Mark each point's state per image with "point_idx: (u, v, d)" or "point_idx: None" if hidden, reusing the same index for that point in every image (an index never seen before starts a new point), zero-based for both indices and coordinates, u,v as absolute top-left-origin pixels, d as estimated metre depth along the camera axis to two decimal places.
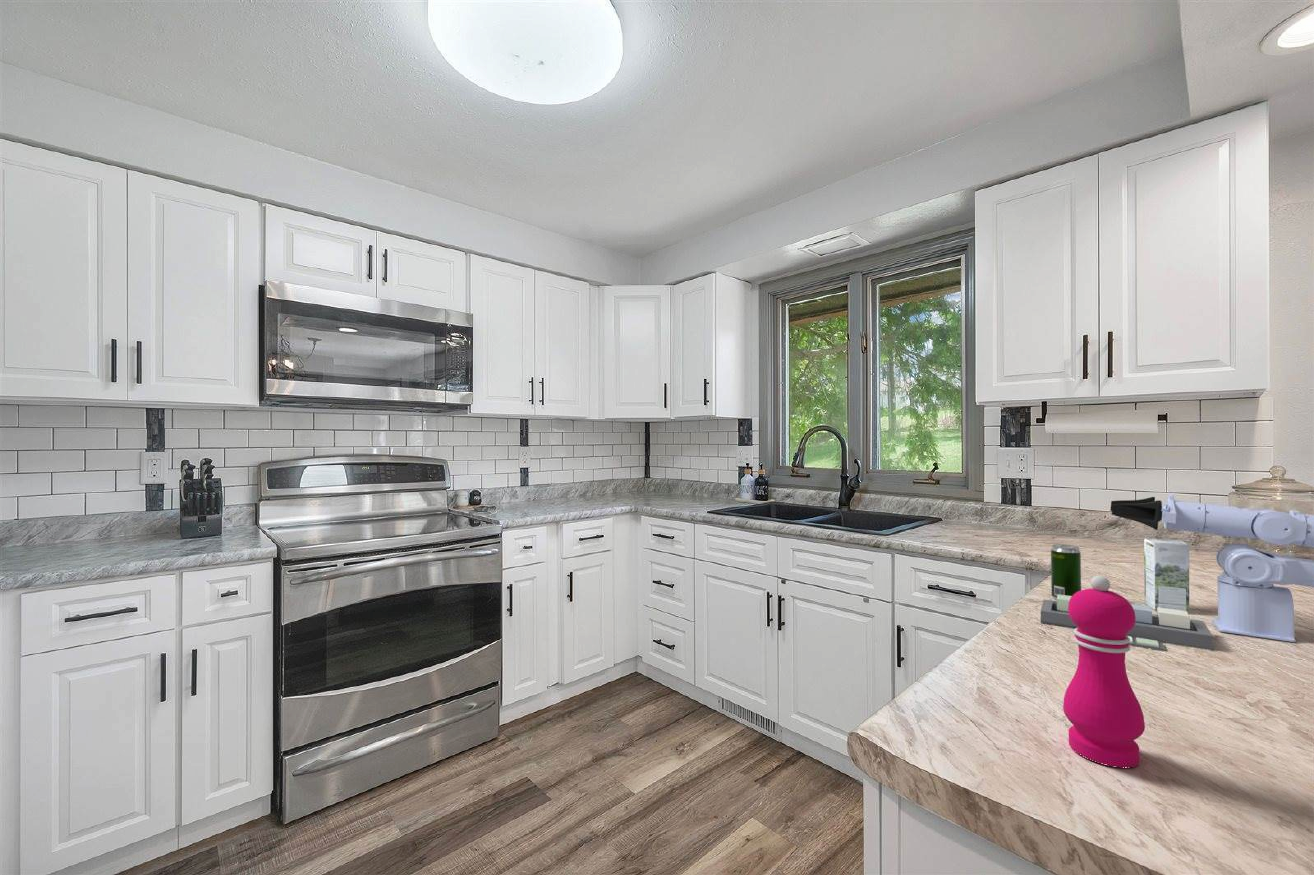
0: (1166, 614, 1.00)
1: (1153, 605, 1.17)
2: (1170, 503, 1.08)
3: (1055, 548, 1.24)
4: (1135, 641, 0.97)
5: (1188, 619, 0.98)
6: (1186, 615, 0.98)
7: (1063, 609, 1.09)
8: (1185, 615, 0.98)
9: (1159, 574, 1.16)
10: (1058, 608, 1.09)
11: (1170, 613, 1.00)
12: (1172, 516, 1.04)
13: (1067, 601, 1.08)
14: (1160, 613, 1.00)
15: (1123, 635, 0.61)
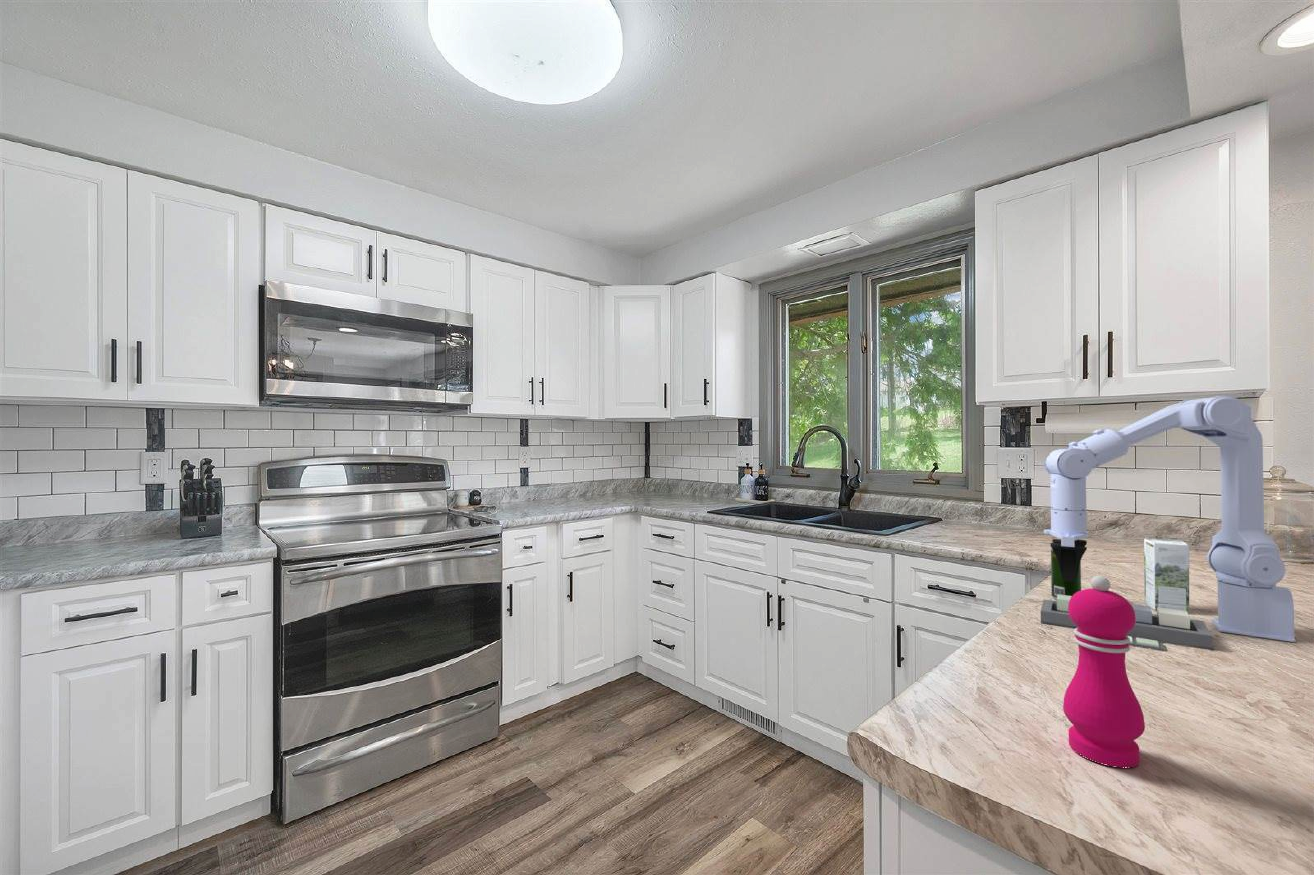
0: (1166, 614, 1.00)
1: (1153, 605, 1.17)
2: (1053, 534, 1.09)
3: None
4: (1135, 641, 0.97)
5: (1188, 619, 0.98)
6: (1186, 615, 0.98)
7: (1063, 609, 1.09)
8: (1185, 615, 0.98)
9: (1159, 574, 1.16)
10: (1058, 608, 1.09)
11: (1170, 613, 1.00)
12: (1065, 539, 1.04)
13: (1067, 601, 1.08)
14: (1160, 613, 1.00)
15: (1123, 635, 0.61)
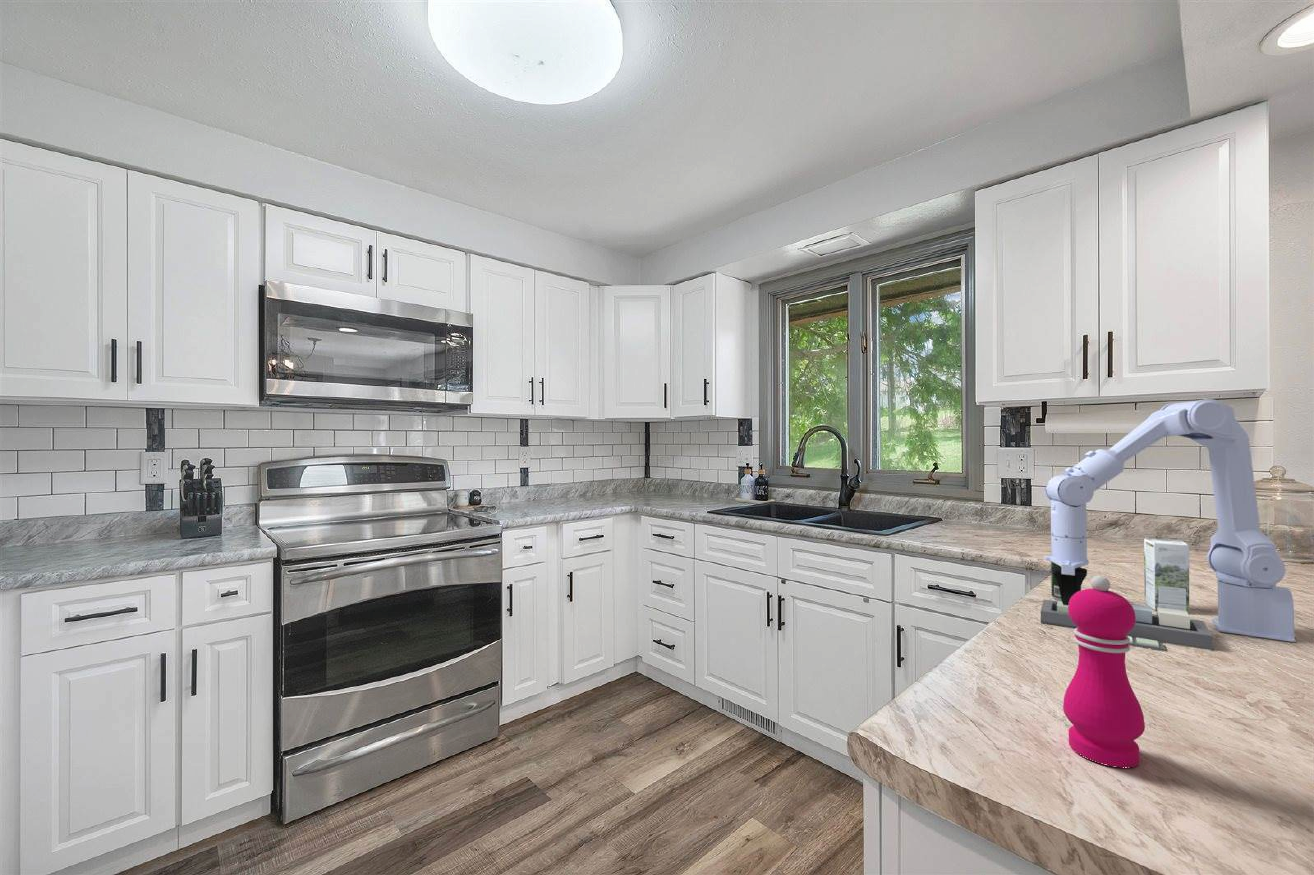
0: (1166, 614, 1.00)
1: (1153, 605, 1.17)
2: (1053, 561, 1.09)
3: None
4: (1135, 641, 0.97)
5: (1188, 619, 0.98)
6: (1186, 615, 0.98)
7: None
8: (1185, 615, 0.98)
9: (1159, 574, 1.16)
10: None
11: (1170, 613, 1.00)
12: (1066, 567, 1.04)
13: (1067, 608, 1.08)
14: (1160, 613, 1.00)
15: (1123, 635, 0.61)
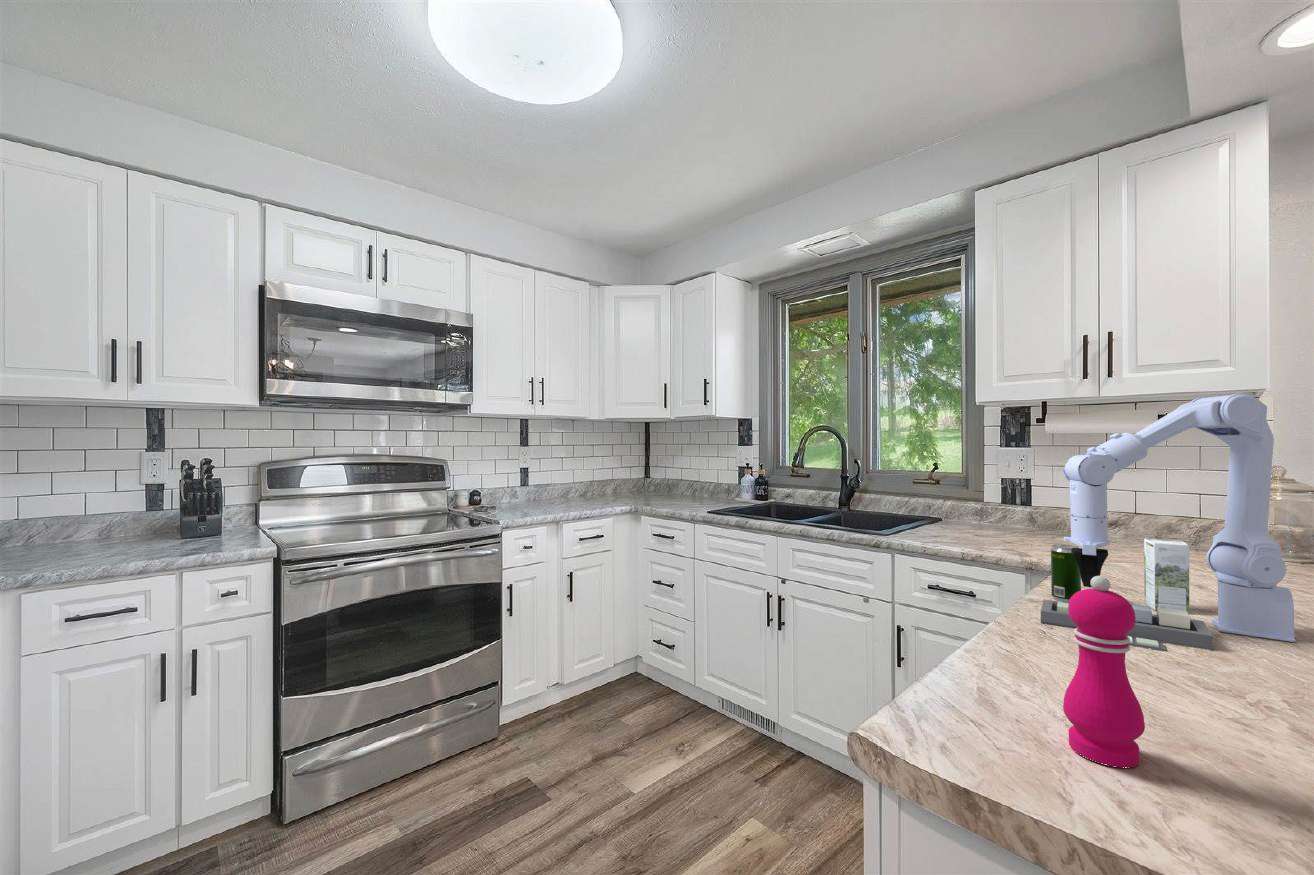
0: (1166, 614, 1.00)
1: (1153, 605, 1.17)
2: (1073, 542, 1.07)
3: (1055, 548, 1.24)
4: (1135, 641, 0.97)
5: (1188, 619, 0.98)
6: (1186, 615, 0.98)
7: None
8: (1185, 615, 0.98)
9: (1159, 574, 1.16)
10: None
11: (1170, 613, 1.00)
12: (1087, 547, 1.02)
13: (1067, 609, 1.08)
14: (1160, 613, 1.00)
15: (1123, 635, 0.61)
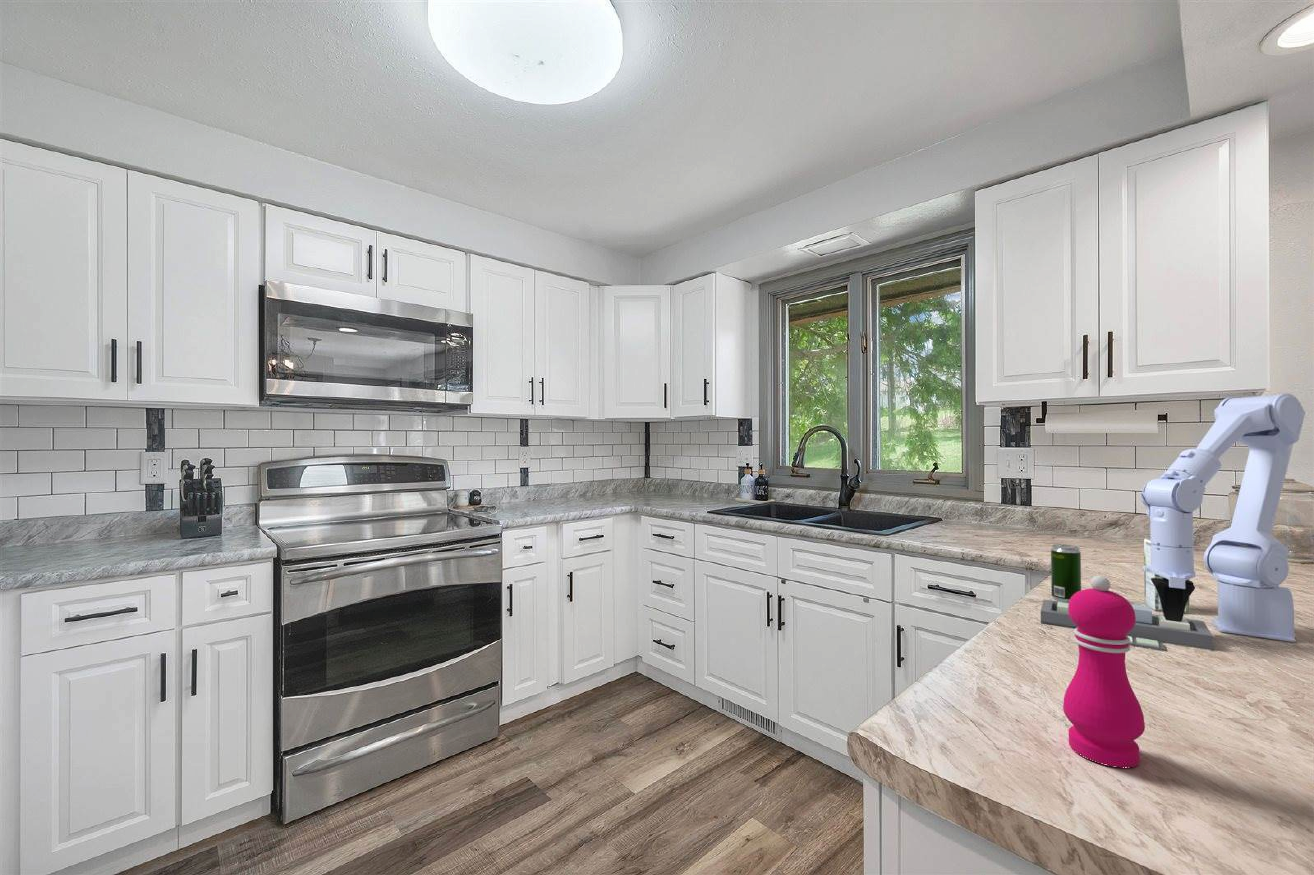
0: (1166, 623, 0.99)
1: (1153, 605, 1.17)
2: (1156, 573, 1.00)
3: (1055, 548, 1.24)
4: (1135, 641, 0.97)
5: (1188, 628, 0.98)
6: (1187, 624, 0.98)
7: None
8: (1185, 624, 0.98)
9: None
10: None
11: (1170, 621, 1.00)
12: (1174, 580, 0.95)
13: (1067, 609, 1.08)
14: (1160, 621, 1.00)
15: (1123, 635, 0.61)
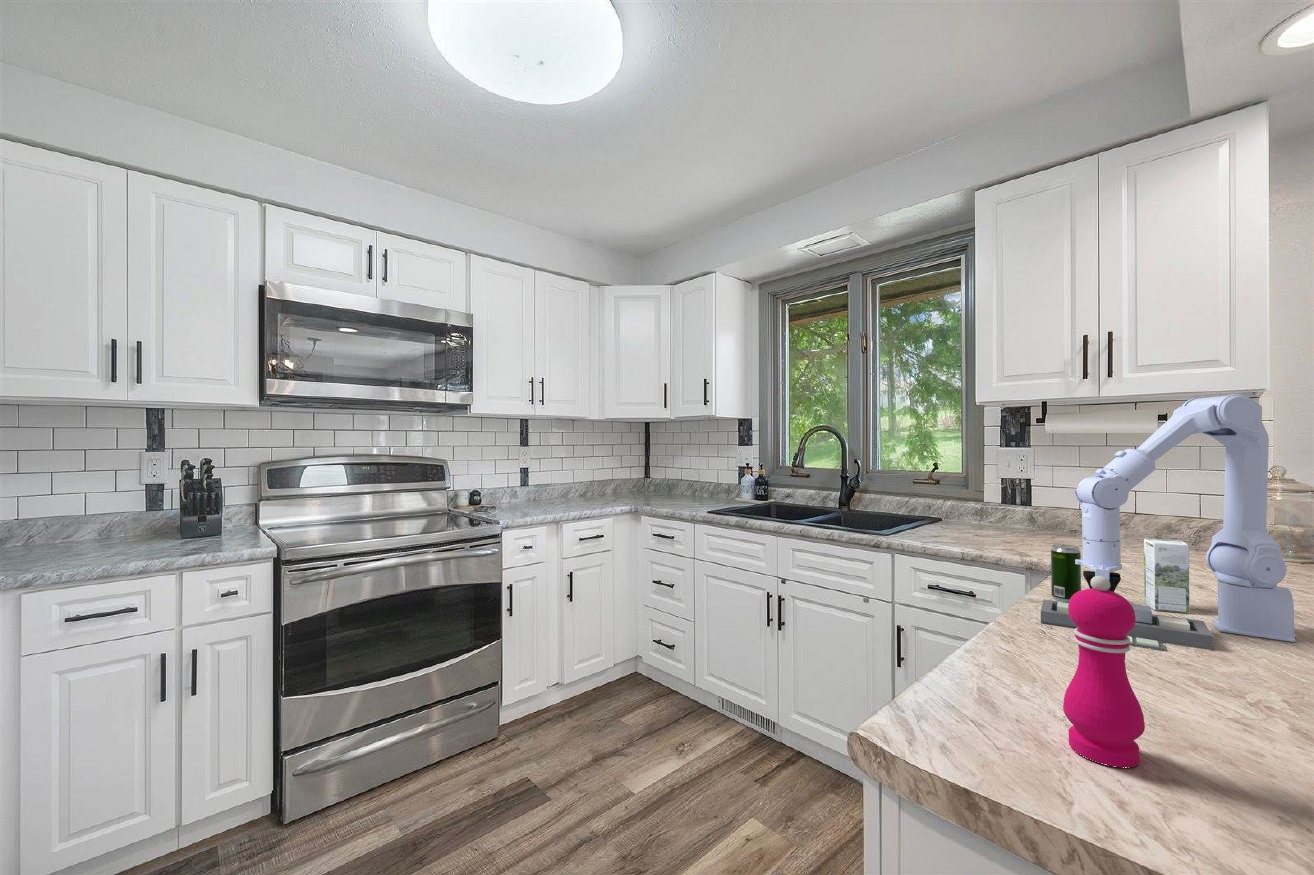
0: (1166, 623, 0.99)
1: (1153, 605, 1.17)
2: (1086, 566, 1.06)
3: (1055, 548, 1.24)
4: (1135, 641, 0.97)
5: (1188, 628, 0.98)
6: (1187, 624, 0.98)
7: None
8: (1185, 624, 0.98)
9: (1159, 574, 1.16)
10: None
11: (1170, 622, 1.00)
12: (1100, 572, 1.01)
13: (1067, 609, 1.08)
14: (1160, 621, 1.00)
15: (1123, 635, 0.61)
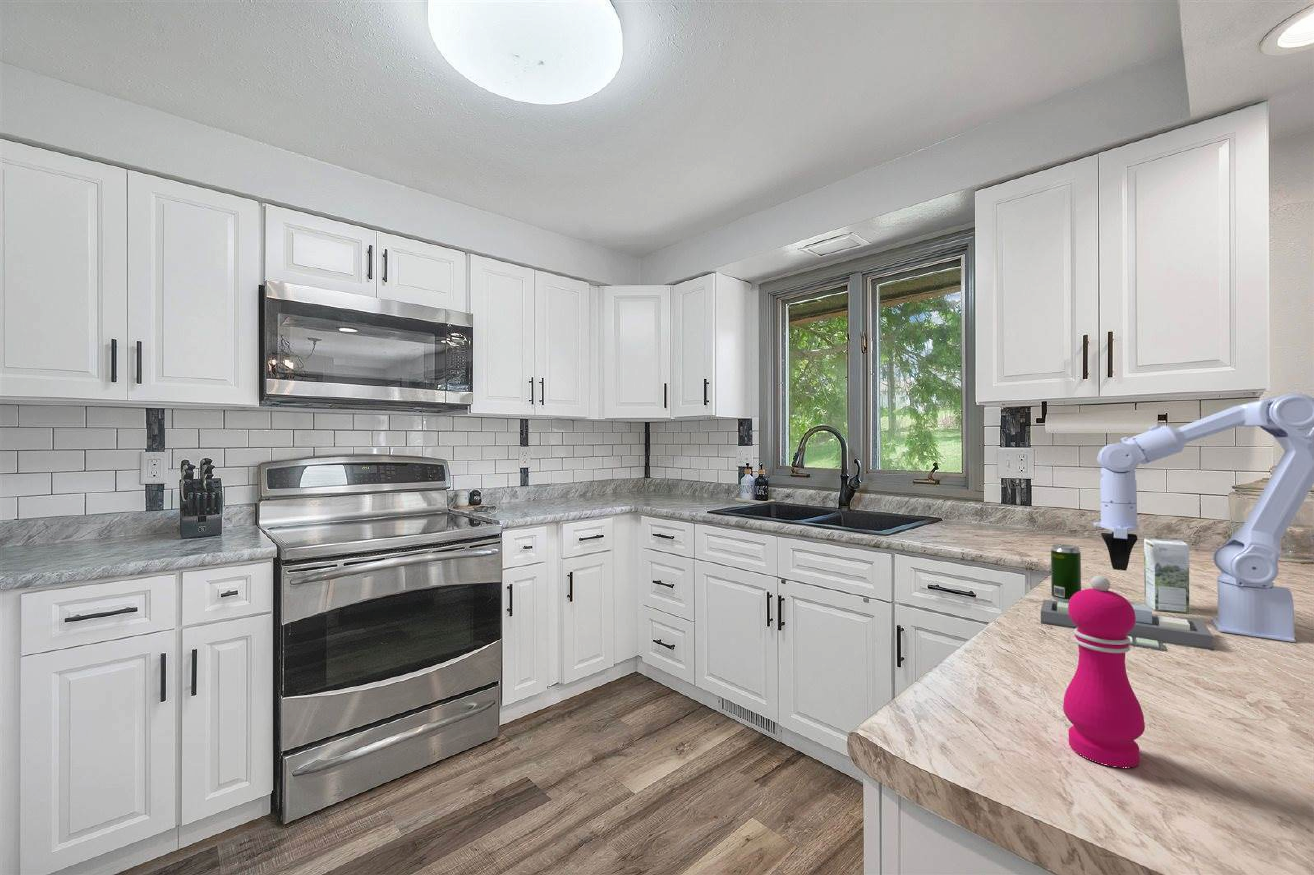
0: (1166, 623, 0.99)
1: (1153, 605, 1.17)
2: (1104, 527, 1.12)
3: (1055, 548, 1.24)
4: (1135, 641, 0.97)
5: (1188, 628, 0.98)
6: (1187, 624, 0.98)
7: None
8: (1185, 624, 0.98)
9: (1159, 574, 1.16)
10: None
11: (1170, 622, 1.00)
12: (1118, 531, 1.07)
13: (1067, 609, 1.08)
14: (1160, 621, 1.00)
15: (1123, 635, 0.61)
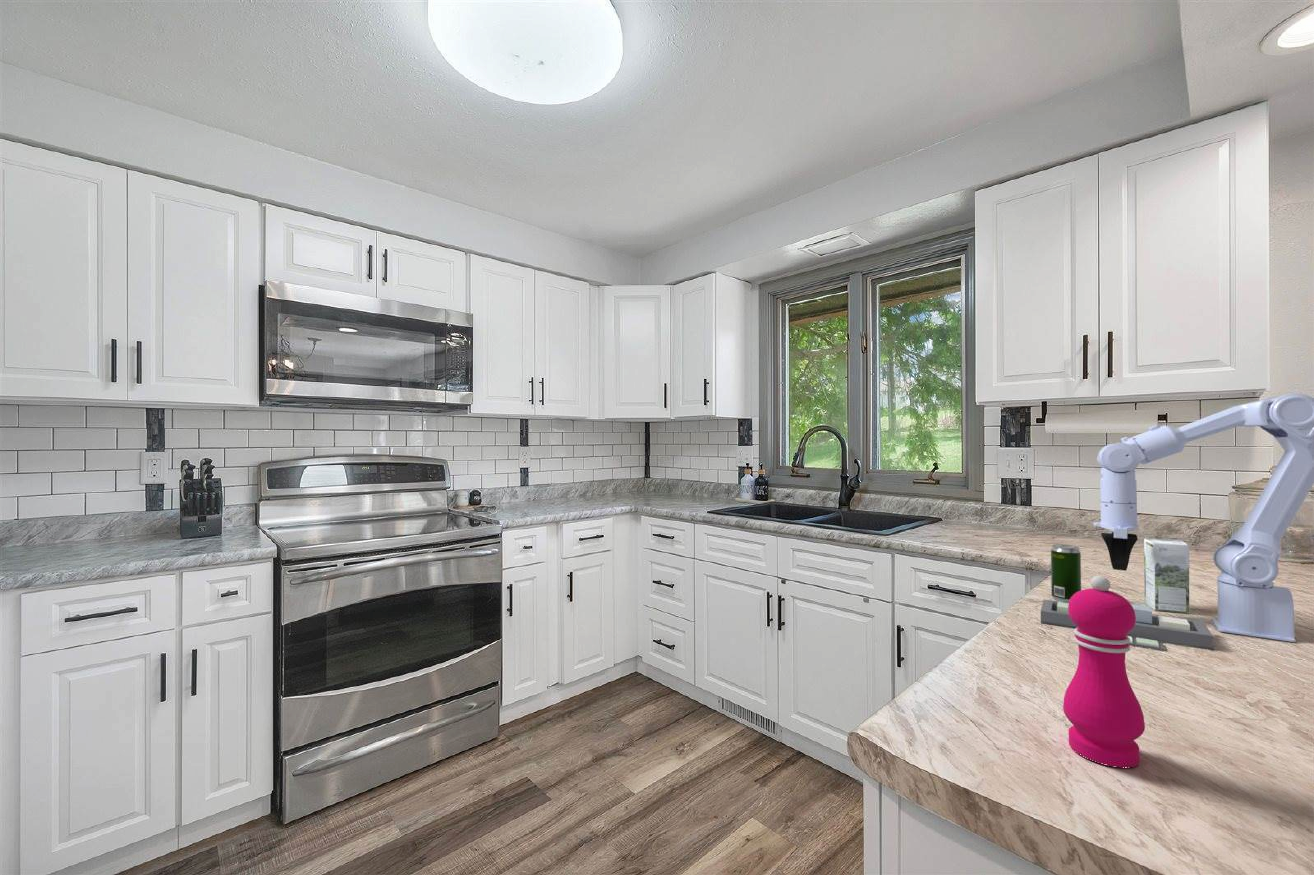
0: (1166, 623, 0.99)
1: (1153, 605, 1.17)
2: (1104, 527, 1.12)
3: (1055, 548, 1.24)
4: (1135, 641, 0.97)
5: (1188, 628, 0.98)
6: (1187, 624, 0.98)
7: None
8: (1185, 624, 0.98)
9: (1159, 574, 1.16)
10: None
11: (1170, 622, 1.00)
12: (1118, 531, 1.07)
13: (1067, 609, 1.08)
14: (1160, 621, 1.00)
15: (1123, 635, 0.61)
